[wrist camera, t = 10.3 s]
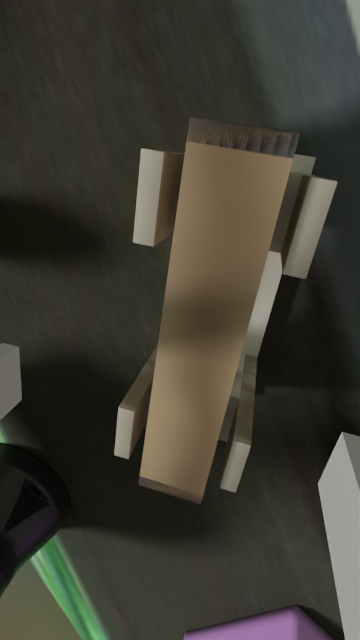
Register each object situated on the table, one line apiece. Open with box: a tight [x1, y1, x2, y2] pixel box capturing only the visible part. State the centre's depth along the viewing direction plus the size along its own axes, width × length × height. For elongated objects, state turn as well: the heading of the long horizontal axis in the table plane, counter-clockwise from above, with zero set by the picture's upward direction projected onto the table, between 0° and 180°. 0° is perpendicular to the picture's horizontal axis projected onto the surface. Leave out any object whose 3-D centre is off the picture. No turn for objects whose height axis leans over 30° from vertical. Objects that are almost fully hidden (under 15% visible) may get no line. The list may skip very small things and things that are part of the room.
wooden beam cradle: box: [114, 148, 338, 493], centre depth 23 cm, size 8×20×12 cm, turn 171°
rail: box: [138, 117, 300, 505], centre depth 19 cm, size 4×20×5 cm, turn 171°
